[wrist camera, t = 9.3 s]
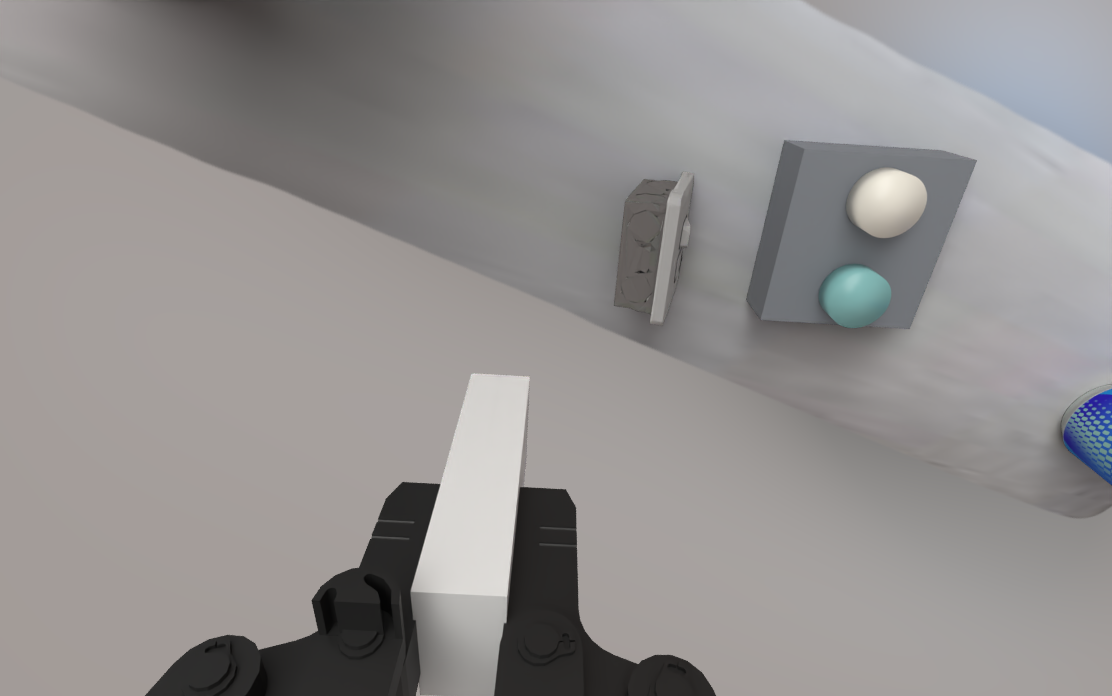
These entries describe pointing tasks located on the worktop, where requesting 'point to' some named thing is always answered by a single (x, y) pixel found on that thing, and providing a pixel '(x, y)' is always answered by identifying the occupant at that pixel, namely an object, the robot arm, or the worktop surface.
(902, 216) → the knob cream
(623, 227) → the electrical switch
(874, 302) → the knob teal
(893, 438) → the worktop surface
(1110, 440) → the beer can
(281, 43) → the worktop surface
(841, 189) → the mount block
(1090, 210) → the worktop surface
